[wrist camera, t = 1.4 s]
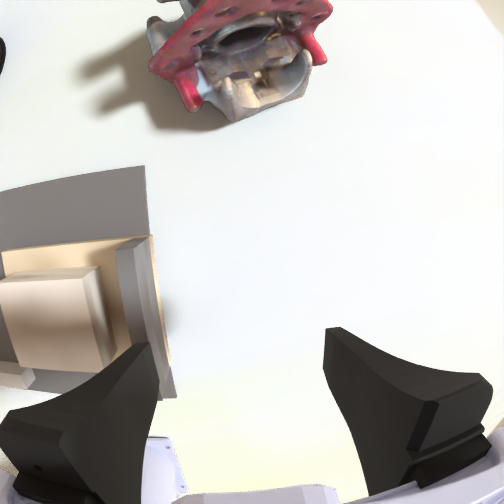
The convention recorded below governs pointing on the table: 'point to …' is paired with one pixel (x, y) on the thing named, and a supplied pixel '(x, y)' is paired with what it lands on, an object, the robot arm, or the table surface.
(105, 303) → the grey beige angular piece
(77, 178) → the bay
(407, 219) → the table surface
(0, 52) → the aerosol can
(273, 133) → the table surface
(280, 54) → the brake caliper
